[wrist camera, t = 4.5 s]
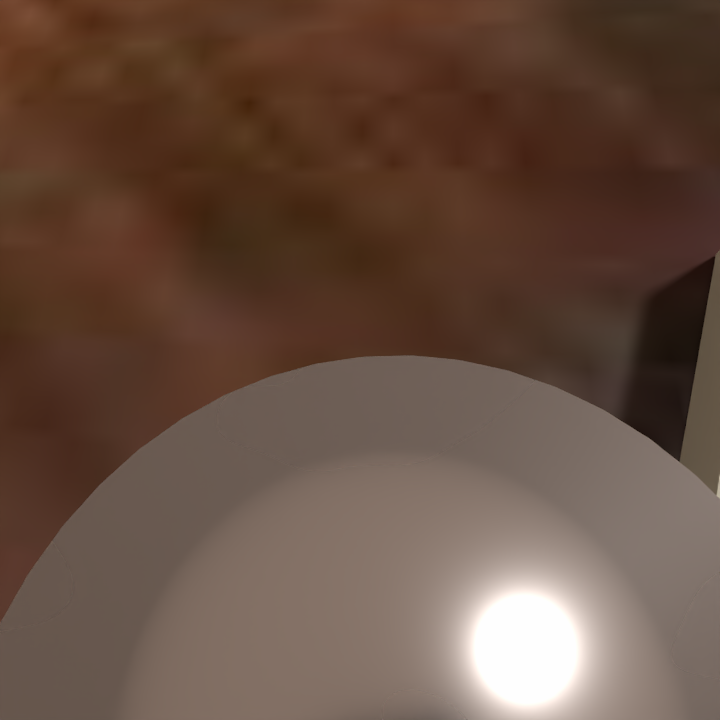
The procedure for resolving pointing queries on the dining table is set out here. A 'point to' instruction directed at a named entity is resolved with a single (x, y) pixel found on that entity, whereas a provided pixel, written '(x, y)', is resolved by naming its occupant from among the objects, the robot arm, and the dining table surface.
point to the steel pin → (379, 562)
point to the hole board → (706, 398)
